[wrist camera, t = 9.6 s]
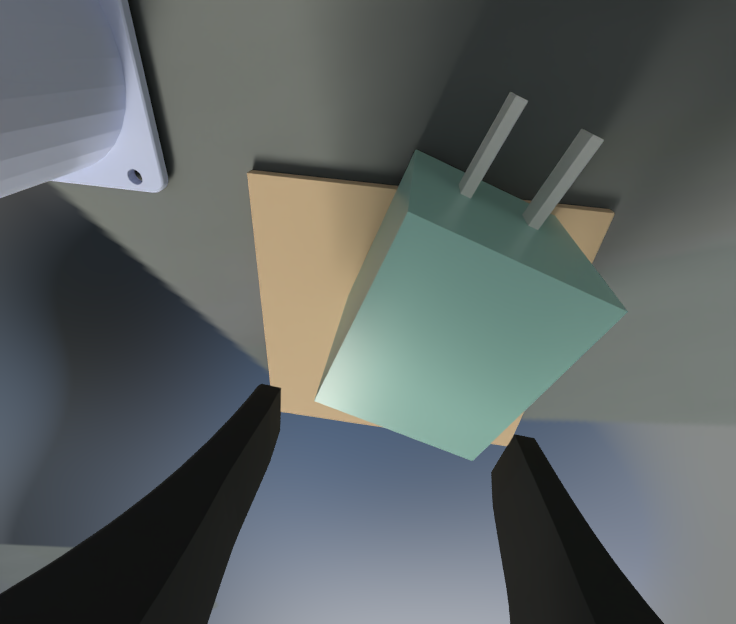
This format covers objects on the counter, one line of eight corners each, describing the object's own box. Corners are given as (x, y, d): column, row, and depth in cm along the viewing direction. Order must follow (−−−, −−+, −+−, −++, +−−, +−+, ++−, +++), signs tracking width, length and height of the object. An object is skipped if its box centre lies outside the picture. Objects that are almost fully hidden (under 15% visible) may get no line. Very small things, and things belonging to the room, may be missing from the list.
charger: (347, 296, 15) (313, 401, 11) (455, 63, 10) (476, 74, 6) (459, 343, 16) (472, 460, 11) (610, 142, 11) (735, 207, 6)
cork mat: (275, 404, 20) (273, 410, 20) (251, 169, 13) (247, 173, 13) (506, 439, 19) (508, 446, 19) (609, 209, 12) (614, 213, 12)
